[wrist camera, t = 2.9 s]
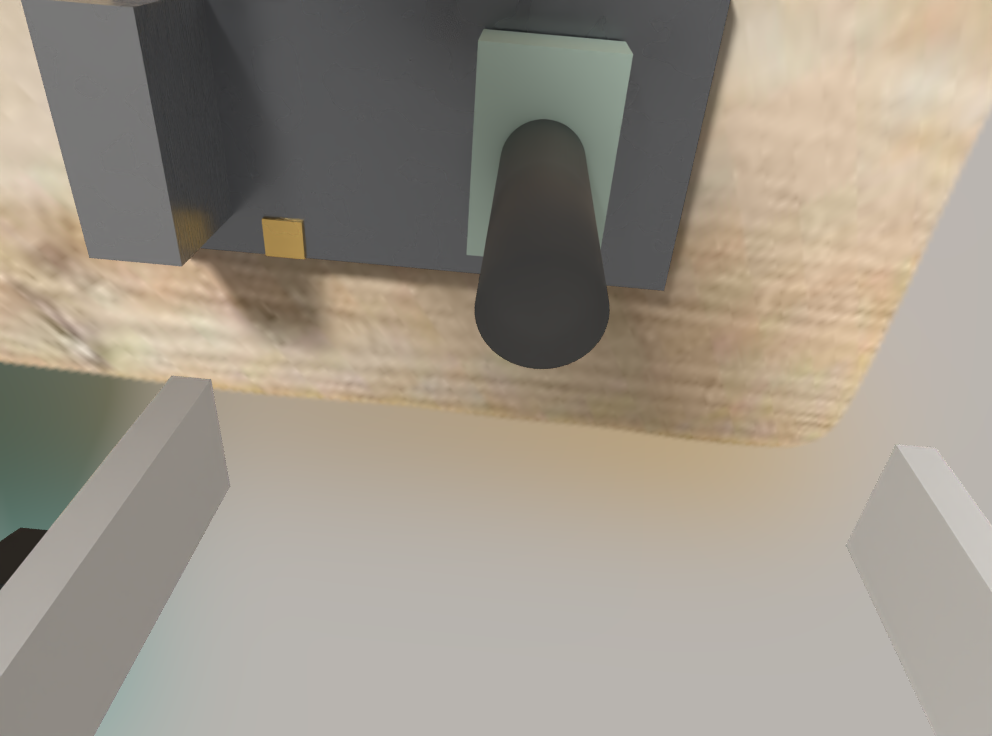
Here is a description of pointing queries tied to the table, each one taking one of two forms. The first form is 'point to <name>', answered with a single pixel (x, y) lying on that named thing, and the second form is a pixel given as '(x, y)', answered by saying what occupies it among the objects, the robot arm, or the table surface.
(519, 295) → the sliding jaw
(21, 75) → the table surface
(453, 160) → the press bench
